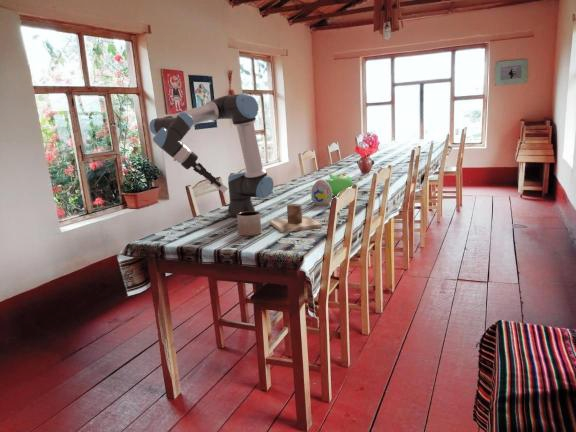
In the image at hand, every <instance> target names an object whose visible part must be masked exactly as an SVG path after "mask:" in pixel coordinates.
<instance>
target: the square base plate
mask: <svg viewBox="0 0 576 432" xmlns="http://www.w3.org/2000/svg"><path fill="white" fill-rule="evenodd" d="M286 209H287V210H286V211H287V212H286V214H287V216H286V217H287V218H278V219H271V220H269V224H270V225H271V226H272V227H274V228H275V229H277V230H278V231H279V232H281V233H289V232H296V231H297V232H298V231H303V230H304V231H305V230H309V229H319V228H322V227H323V225H322V223H321V222H318V221H317V220H315V219H313V218H312V217H310V216H308V215H304V216H303V214H302V213H303V211H302V209H303V208H302V204H301V203H290V204H287V205H286Z"/></svg>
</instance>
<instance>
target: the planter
mask: <svg viewBox="0 0 576 432" xmlns="http://www.w3.org/2000/svg"><path fill="white" fill-rule="evenodd" d="M236 221H237V234H238V235H239V236H243V237H253V236H257V235H259V234H260V235H261V233H262V219H261V212H260V211H256V210H255V211H245V212H240V213H238V214H237V217H236Z"/></svg>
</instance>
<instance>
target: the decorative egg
mask: <svg viewBox="0 0 576 432" xmlns="http://www.w3.org/2000/svg"><path fill="white" fill-rule="evenodd" d="M325 180H326V179H321V178H320V179H318V180H316V181H315V183H314V184H313V186H312V188H311V193H310V196H311V200H312V203H313V204H314V205H315V206H319V207H324V206H329V205H330V204H331V202H332V198H333V194H332V190H331V187H330V185H329V183H327V182H326V181H325Z"/></svg>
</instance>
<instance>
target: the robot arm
mask: <svg viewBox="0 0 576 432" xmlns="http://www.w3.org/2000/svg"><path fill="white" fill-rule="evenodd" d="M258 111H259V104H258V101H257V99H256V98H255V97H254V96H252V95H251V94H249V93H238V94H237V93H236V94H226V95H223V96H220V97H218V98H215V99H211V100H209V101H207V102H206V103H205V104H203V105H200V106H196V107H194V108H190V109H187V110H183V111H180V112H177V113H174V114H169V115H167V116H164V117H161V118H160V117H156V118H154V119H152V120H151V121H150V122H149V124H148V125H149V127H148V128H149V130H150V133H152V135H154V136H153V137H152V141H153V142H154V143H155V145H156V146H157V147H159V149H161V150H162V151H163V152H165V153H167V155H169V156H170V157H172V159H173V161H174V162H175V161H176V162H177V163H179V164H180V165H181V166H182V167H183V168H184V169H185V170H189V169H190V168H193V169H192V170H193V171H194V172H195V173H197V174H199V175H200V176H203V178H205V179H207V181H208V182H209V183H210V185H211V186H212V185H213V186H214V187H216V189H218V190H220V191H221V192H222V193H223V194H225V192H226V191H228V195H229V197H228V198H229V204H228V209H227V216H228V217H231V218H237V214H238V213H240V212H245V211H256V209H255V207H254V203H253V201H252V198H257V199H266V198H268V197H269V196H270V195H271V194H272V192H273V189H274V180H273V178H272V177H271V176H269V175H268V173H267V170H266V169H265V168H263V164H262V163H263V162H262V157H261V153H260V149H259V148H260V147H259V143H258V140H257V139H258V138H257V133H256V130H255V122H256V120H257V119H256V117H257V116H258V113H259V112H258ZM217 120H231V121H232V122H231V123H232V125H233V126H235V127H236V129H237V135H238V139H239V142H240V143H239V145H240V148H241V153H242V156H243V160H244V165H245V172H243V171H241V172H237V173H232V174H229V175H228V177H227V179H228V180H227V185H228V187H227V186H226V185H224V183H222V182H221V181H220V180H219V179H217V178H216V177H215V176H214V175H212V173H211V172H209V171H208V170H207V169H206V168H205V167H204V166H203V164H201V163H200V162H197V160H199V156H198V155H197V154H196V153H195V152H194V151H192V150H191V149H190V148H189V147H188V146H187V145H185V144H184V143H183V142H182V140H183V139H184V137H185V136H186V135H187V134H188V133H189V131H190V130H191V129H192V127H193V126H195V125H198V124H201V123H204V122H207V121H217Z"/></svg>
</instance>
